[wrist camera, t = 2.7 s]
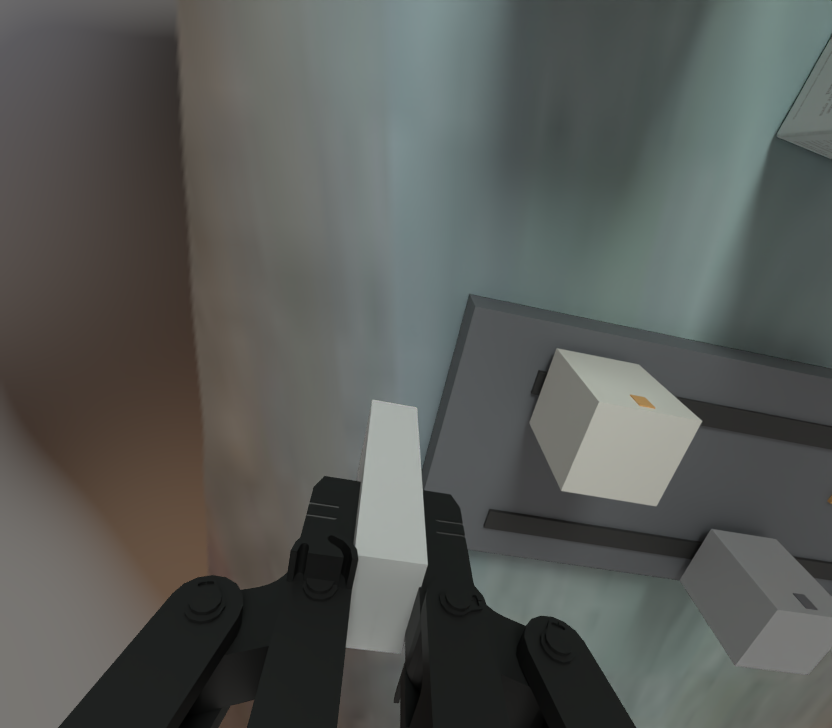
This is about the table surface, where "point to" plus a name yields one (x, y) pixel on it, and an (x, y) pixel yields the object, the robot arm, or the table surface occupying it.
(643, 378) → the block
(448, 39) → the table surface
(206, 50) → the table surface
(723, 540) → the fader
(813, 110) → the small box
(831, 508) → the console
